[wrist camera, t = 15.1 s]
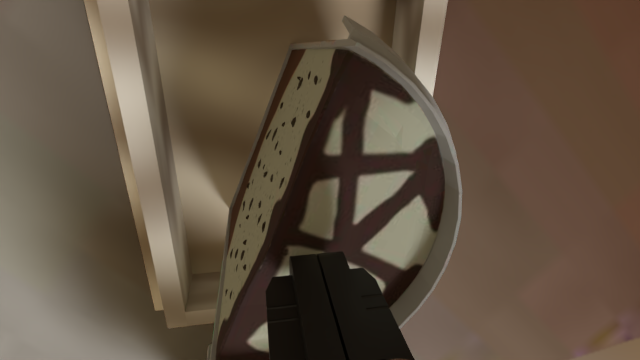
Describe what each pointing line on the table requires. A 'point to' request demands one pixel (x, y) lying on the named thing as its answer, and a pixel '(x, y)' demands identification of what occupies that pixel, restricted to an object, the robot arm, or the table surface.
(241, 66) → the holder
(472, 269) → the table surface
